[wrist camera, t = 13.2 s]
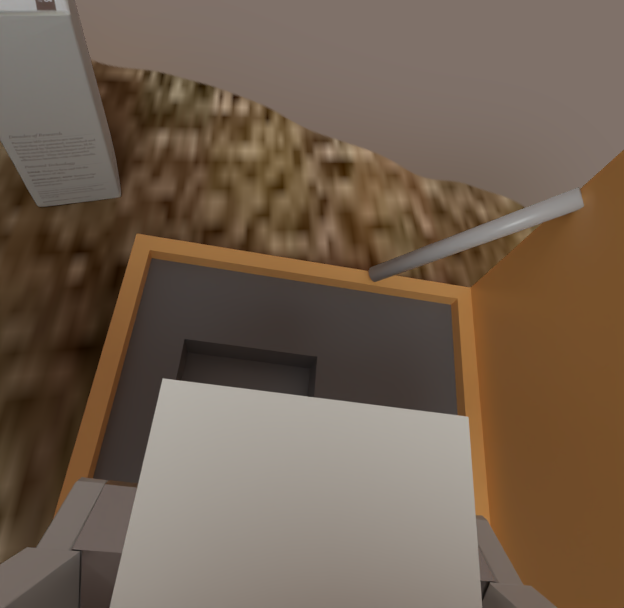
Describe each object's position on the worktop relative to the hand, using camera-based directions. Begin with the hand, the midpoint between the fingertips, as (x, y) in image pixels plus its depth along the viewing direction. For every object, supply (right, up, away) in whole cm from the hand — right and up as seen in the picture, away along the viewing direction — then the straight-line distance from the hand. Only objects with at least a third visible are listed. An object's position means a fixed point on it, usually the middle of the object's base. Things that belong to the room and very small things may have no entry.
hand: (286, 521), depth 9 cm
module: (-1, -3, +4) cm, 4 cm away
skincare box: (-17, +15, +25) cm, 34 cm away
